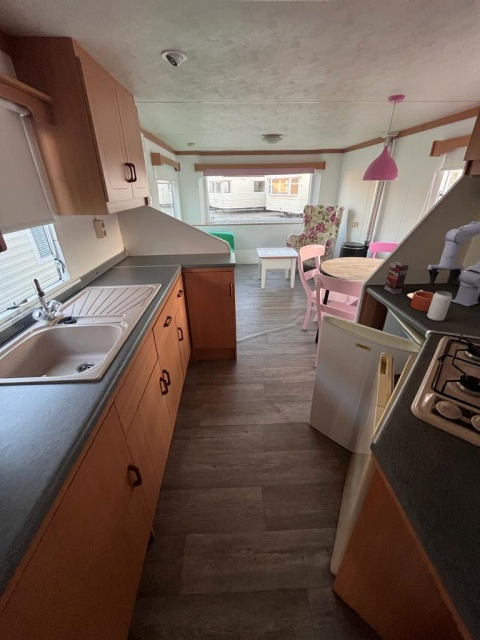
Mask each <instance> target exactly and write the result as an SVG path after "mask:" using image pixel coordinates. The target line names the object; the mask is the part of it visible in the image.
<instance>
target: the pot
mask: <svg viewBox="0 0 480 640" xmlns="http://www.w3.org/2000/svg"><path fill="white" fill-rule="evenodd" d="M418 291H419V290H418ZM418 291H414V292H413V293H414V295H413V298H412V299H411V302H410V307H411V308H412V309H414V310H417V311H420V312H424V313H425V312H426V313H428V311H429V308H430V305H431V302H432V299H433V296H434V294H435V293H434V292H429V291H424V292H422V291H419V292H418Z"/></svg>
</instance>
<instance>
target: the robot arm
mask: <svg viewBox="0 0 480 640" xmlns="http://www.w3.org/2000/svg"><path fill="white" fill-rule="evenodd" d="M478 235H480V222H479V221H471V222H470V223H468V224H466V225H464V226H459V227H458V228H452V229H449V230H448V231H447V232H446V234H445V235H444V240H445V241H444V248H443V250H442V254H441V257H440V260H439V264H428V266H427V271H428V274H429V284H430V285H431V286H432V285H433V286H434V285H435V282H436V279H437V277H438V275H439V274H440V272H439V271H442V270H443V271H449V274H448V278H447V281H446V284H447V285H448V286H451V285H452V284H453V282H454V281H455V280H456V279H457V278H458V281H459V284H460V285H459V288H458V291H457V293H456V296H455V298H453V299H451V302H453V303H456V304H459V305H463V306H465V307H470V306H474V305H476V304H479V301H478V298H479V296H480V259H479V260H478V262H477V263H476V264H474V265H471V266H468V267H467V268H466V269H465V266H464V265H457V264H456V262H457V259H458V257H459V253H460V250H461V247H462V244H464V243H466V242H467V240H469V239H470V238H473V237H475V236H478Z"/></svg>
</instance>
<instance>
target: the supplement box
mask: <svg viewBox="0 0 480 640" xmlns="http://www.w3.org/2000/svg"><path fill="white" fill-rule="evenodd" d="M408 270H409V265H407V264H406V263H402V262H399V261H391V262H390V264H389V268H388V272H387V277H386V279H385V285H384V288H383V289H384V290H385V291H388V292H389V293H392V294H393V295H399V294H402V291H403V288H404V284H405V280H406V277H407V273H408Z"/></svg>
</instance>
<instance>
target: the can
mask: <svg viewBox="0 0 480 640" xmlns="http://www.w3.org/2000/svg"><path fill="white" fill-rule="evenodd" d="M433 294H434V296H433V299H432V302H431V305H430V308H429V311H428V312H427V314H426V317H427V318H428V319H429V320H432V321H436V322H442V321H444V320H445V318H446V316H447V313H448V311H449V308H450V304H451V302H452V301H451V300H453V297H452V293H451V292H449V291H445V290H437V291H435V293H433Z"/></svg>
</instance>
